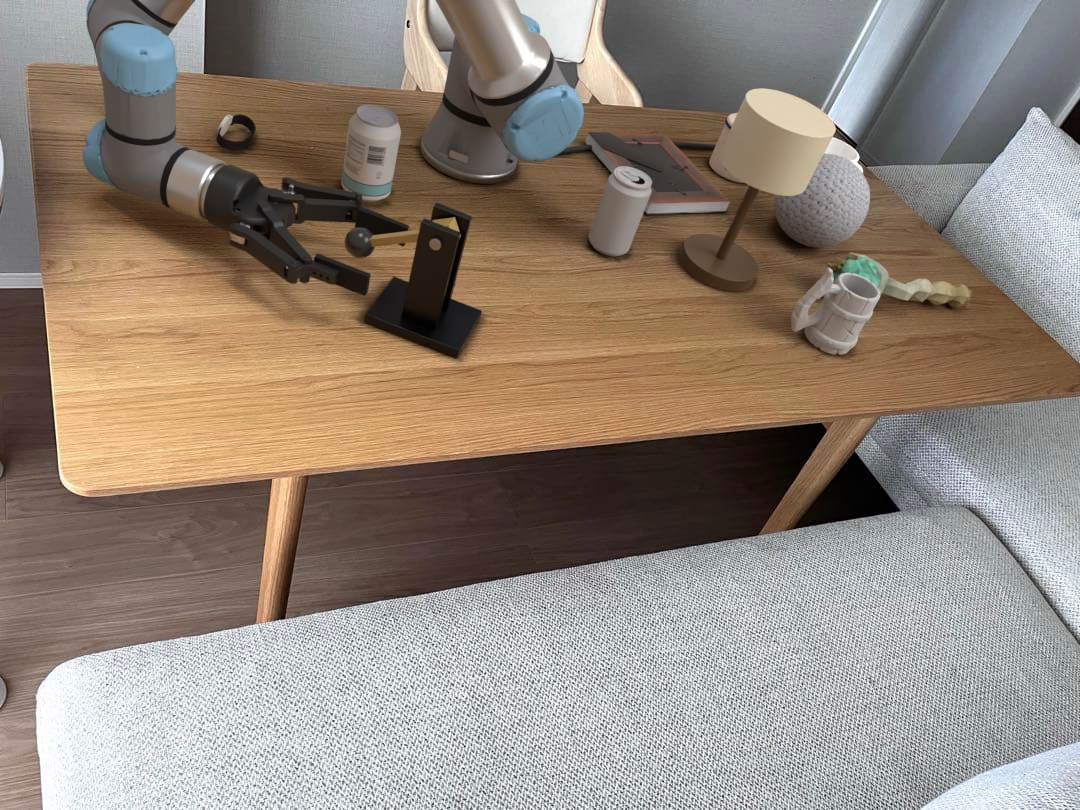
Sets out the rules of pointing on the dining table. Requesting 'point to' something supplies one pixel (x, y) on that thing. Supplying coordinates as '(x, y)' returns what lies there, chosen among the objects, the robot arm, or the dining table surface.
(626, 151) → the picture frame
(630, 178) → the beverage can
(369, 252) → the lamp switch
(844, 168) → the decorative ball
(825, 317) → the mug
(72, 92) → the dining table surface
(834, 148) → the mug
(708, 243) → the lamp
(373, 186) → the beverage can
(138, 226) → the dining table surface
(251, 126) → the watch
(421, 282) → the switch bracket
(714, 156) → the teacup with lid
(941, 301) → the scepter
